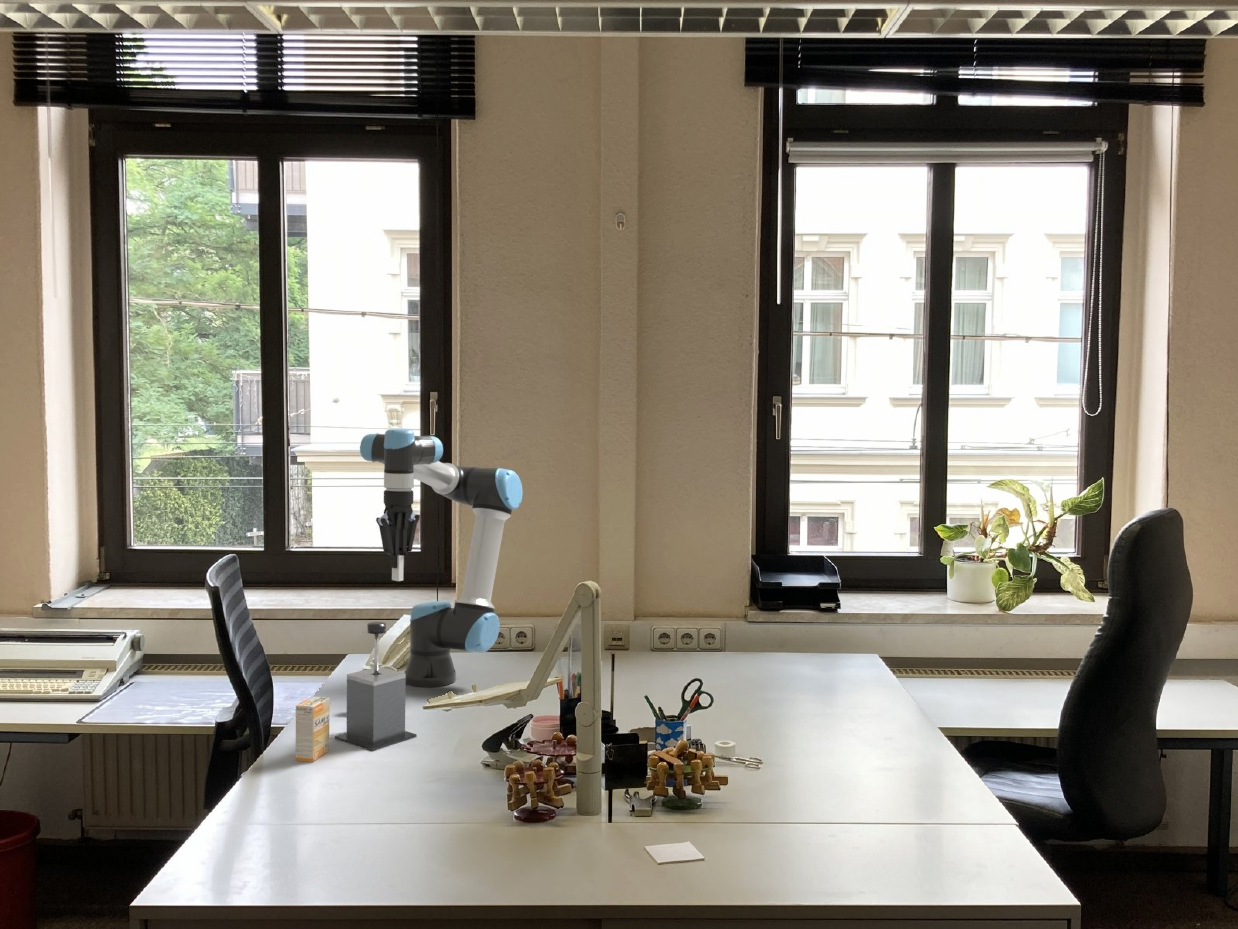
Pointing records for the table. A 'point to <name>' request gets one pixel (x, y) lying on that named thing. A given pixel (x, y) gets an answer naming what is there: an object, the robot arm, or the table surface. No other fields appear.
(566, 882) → the table surface
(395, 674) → the block
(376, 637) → the plunger
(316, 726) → the supplement box
